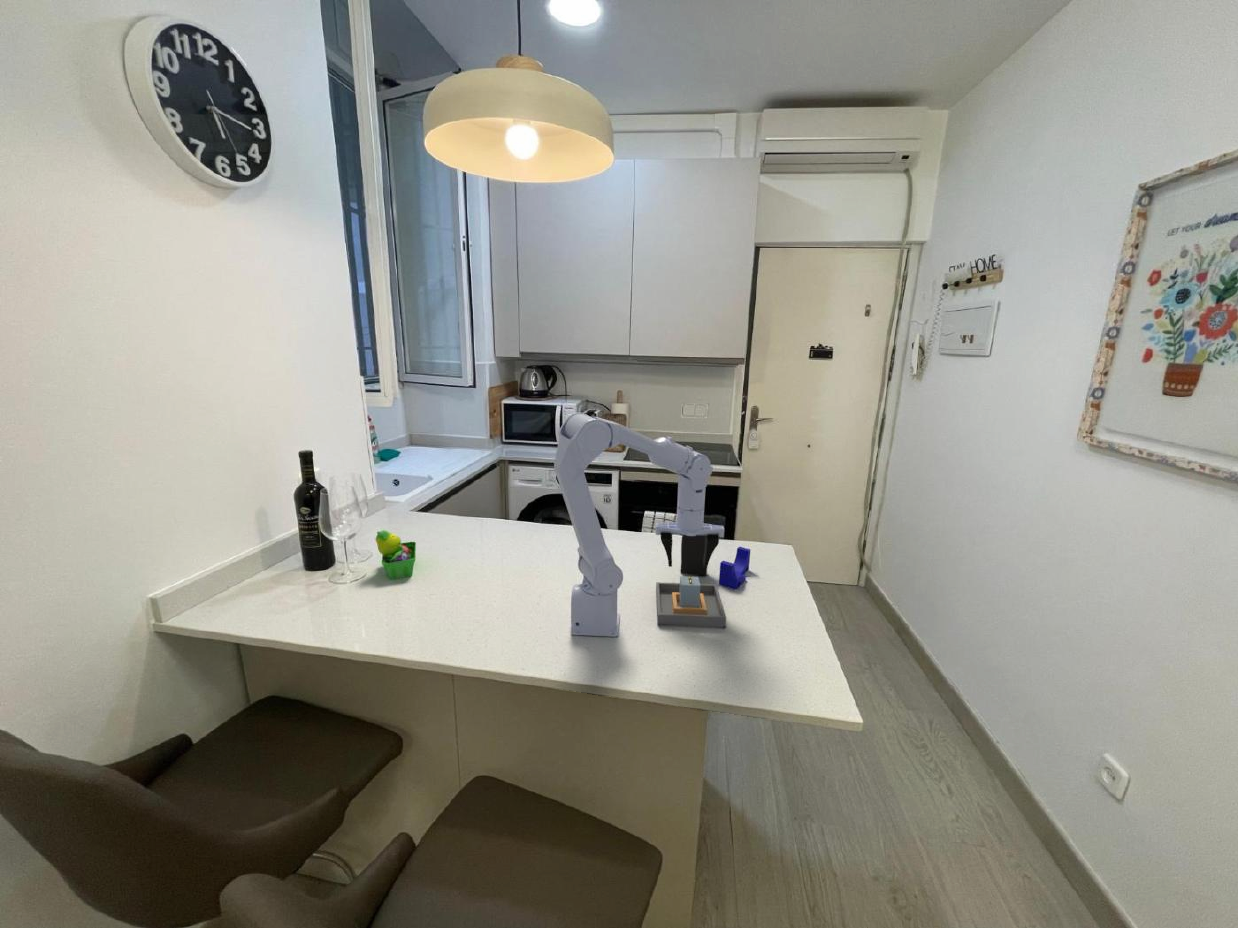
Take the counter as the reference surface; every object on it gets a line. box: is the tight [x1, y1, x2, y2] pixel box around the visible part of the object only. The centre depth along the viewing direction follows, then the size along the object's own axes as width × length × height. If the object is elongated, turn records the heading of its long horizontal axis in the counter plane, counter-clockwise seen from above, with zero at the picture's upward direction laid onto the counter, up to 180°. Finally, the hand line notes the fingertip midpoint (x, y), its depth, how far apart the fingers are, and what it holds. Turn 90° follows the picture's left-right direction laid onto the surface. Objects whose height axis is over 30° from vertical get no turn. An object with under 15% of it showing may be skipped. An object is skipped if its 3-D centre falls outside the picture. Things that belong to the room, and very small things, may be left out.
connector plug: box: [679, 575, 701, 608], centre depth 108 cm, size 4×4×7 cm
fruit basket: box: [375, 529, 417, 580], centre depth 124 cm, size 11×9×11 cm
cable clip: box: [718, 546, 752, 591], centre depth 123 cm, size 12×4×6 cm, turn 145°
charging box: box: [655, 581, 727, 629], centre depth 109 cm, size 14×14×2 cm
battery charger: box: [679, 535, 708, 577], centre depth 125 cm, size 7×4×11 cm, turn 73°
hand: (687, 565), depth 108 cm, fingers open, 7 cm apart
